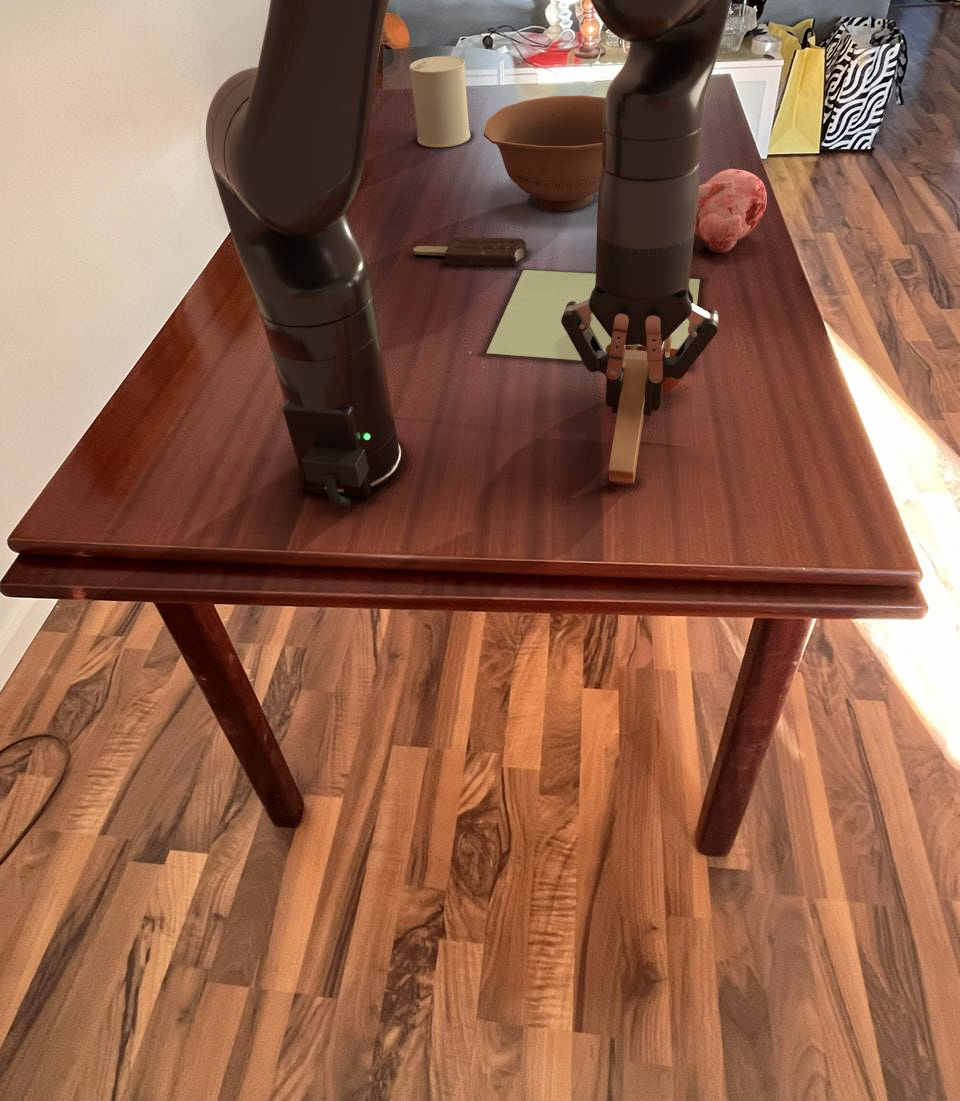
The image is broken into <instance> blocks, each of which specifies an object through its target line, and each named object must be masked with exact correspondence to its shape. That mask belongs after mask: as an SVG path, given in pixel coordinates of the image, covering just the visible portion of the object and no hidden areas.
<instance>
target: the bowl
mask: <svg viewBox="0 0 960 1101" xmlns="http://www.w3.org/2000/svg"><path fill="white" fill-rule="evenodd" d="M605 98H606V97H601V96H592V95H552V96H546V97H540V98H533V99H527V100H523V101H520V102H517V103H513V104H510V105H507V106H504V107H501V108H500V109H499V110H498V111H497V112H496V113H494V114H492V116H491V117H490V118H488V119H487V120H486V124H485V127H484V131H483V137H484V138H485V139H487V140H488V141H489V142H490V143H491V144H494V145H496V146H497V148H498V150H499V152H500V155H501V160H502V163H503V165H504V168H505V171H506V173H507V175H508V177H509V178H510V181H512V182H513V183H514V184H515V185H516V186H517V187H518V188H519V189H520V190H521V191H523V192H524V193H526V194H528V195H531V196H532V197H531V202H532V203H533V204H534V205H535V206H536V207H538V208H540V209H543V210H547V211H553V212H569V211H575V210H579V209H581V208H584V207H586V206H588V205H589V204H590V203H591V202H592V201H593V200H594V194H596V193H597V194H598V191H599V184H600V178H601V171H602V146H603V117H604V105H605Z"/></svg>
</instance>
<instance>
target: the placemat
mask: <svg viewBox="0 0 960 1101" xmlns="http://www.w3.org/2000/svg"><path fill="white" fill-rule="evenodd" d="M595 282H596V273H587V272H572V271H571V272H570V271H569V272H568V271H554V270H553V271H549V270H531V269H523V270H522V272H521V275H520V277H519V279H518V282H517V283H516V286H515V287H514V290H513V292H512V294H511V297H510V299H509V301H508V302H507V306H506V307H505V309H504V313H503V315H502V317H501V319H500V321H499V324H498V326H497V327H496V330H495V333H494V334H493V336H492V339H491V342H490V344H489V346H488V348H487V351H486V354H487V355H488V354H489V355H498V356H499V355H501V356H513V357H514V356H515V357H528V358H541V359H553V360H566V361H581V362H583V361H582V359H581V357H580V355H579V354H578V352H577V350H576V348H575V347H574V345H573V343H572V341H571V339H570V338H569V336H568V334H567V332H566V330H565V329H564V327H563V325H562V323H561V319H562V316H563V314H564V311H565V308H566V306H567V304H568V303H569V302H571V301H575V302H577V303H581V302H583V301H585V300H588V299H590V296H591V293H592V291H593V289H594V288H595ZM700 282H701V279H700V278H690V279H689V290H690V293H691V294H692V297H693V304H694V305H696V306H698V299H699V290H700V284H701V283H700ZM591 317H592V320H591V323H590V326H591V328H592V330H593V332H594V333H595V335H596V337H597V339H598V341H599V343H600V345H601V347H602V348H603V350H604V352H606V347H607V345H609V344H611V337H610V336H609V335H608V334H607V332H606V331H605V330H604V328H603V327H602V325H601V324H600V323H599V321H598V320H597V319H596V317H595V316H594V314H593V313H592V314H591ZM688 326H689V320H688V319H686V320H685V321H684V322H683V323H682V324H681V325H680V326H679V327H678V328H677V329H676V330H675V331H674V332H673V334H672V341H671V348H673V349H679V347H680V346H681V345H682V343H683V342H684V341H685V339H686V338H687V337H688V335H689V333H688ZM626 346H631V345H626ZM638 346H642V345H639V344H638Z"/></svg>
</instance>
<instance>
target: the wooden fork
mask: <svg viewBox="0 0 960 1101" xmlns="http://www.w3.org/2000/svg"><path fill="white" fill-rule="evenodd" d="M672 334H673V333H672ZM672 334H671V335H670V336H669V337H668V338H667V339H666V343H665V355H666V357H669V355H670V348H671V341H672ZM622 367H623V368H625V370H624V376H623V383H622V389H621V393H620V399H619V405H618V412H617V413H616V418H615V424H614V430H613V437H612V444H611V450H610V455H609V456H610V457H609V462H608V468H607V469H608V470H607V471H608V478H609V479H608V480H609V482H615V483H624V484H635V480H636V479H635V478H636V473H637V472H636V471H637V466H638V459H639V451H640V446H641V439H642V433H643V432H642V431H643V425H644V419H645V416H644V403H645V386H646V379H647V375H648V370H649V369H648V361H647V347H646V351H638V344H633V345H631V346H630V350H625V354H624V360H623V366H622Z"/></svg>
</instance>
